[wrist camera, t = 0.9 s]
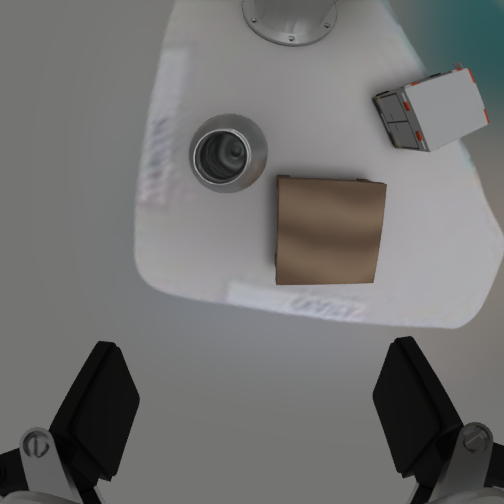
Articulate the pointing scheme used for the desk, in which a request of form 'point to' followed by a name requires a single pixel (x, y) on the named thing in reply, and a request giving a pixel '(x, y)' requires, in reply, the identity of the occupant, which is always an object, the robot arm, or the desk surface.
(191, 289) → the desk surface
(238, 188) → the plastic bottle
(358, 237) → the walnut stand
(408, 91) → the toy vehicle
